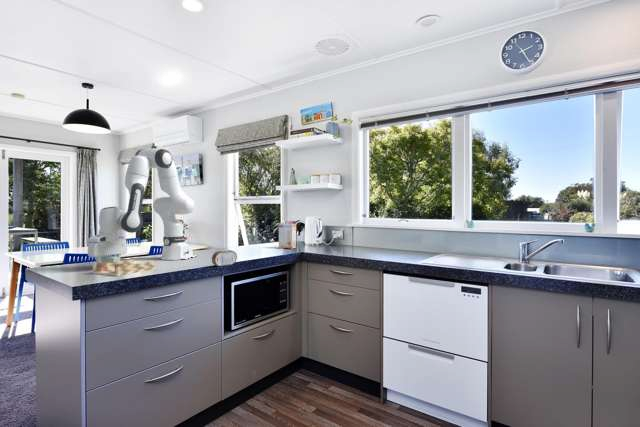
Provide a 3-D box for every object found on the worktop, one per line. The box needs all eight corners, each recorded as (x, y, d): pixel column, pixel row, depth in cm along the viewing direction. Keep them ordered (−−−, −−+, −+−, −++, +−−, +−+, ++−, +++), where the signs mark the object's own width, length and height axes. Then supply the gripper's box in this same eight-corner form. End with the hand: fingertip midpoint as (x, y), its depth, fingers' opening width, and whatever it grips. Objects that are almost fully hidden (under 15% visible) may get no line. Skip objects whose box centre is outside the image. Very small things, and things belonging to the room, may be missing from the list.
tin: (234, 263, 197) (234, 249, 197) (237, 264, 195) (237, 249, 195) (211, 266, 186) (211, 251, 186) (214, 267, 184) (214, 251, 184)
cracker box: (296, 249, 280) (296, 223, 280) (292, 249, 275) (292, 223, 275) (282, 247, 287) (283, 223, 287) (278, 248, 282) (278, 223, 282)
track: (131, 266, 183) (132, 257, 183) (155, 268, 178) (155, 259, 178) (92, 273, 162) (92, 263, 162) (117, 276, 157) (117, 265, 157)
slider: (103, 266, 183) (103, 255, 183) (120, 268, 179) (120, 256, 179) (96, 268, 179) (96, 256, 179) (113, 269, 175) (113, 257, 175)
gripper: (121, 236, 190) (121, 261, 190) (85, 238, 170) (85, 266, 170) (130, 236, 188) (129, 261, 188) (94, 239, 168) (94, 267, 168)
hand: (108, 263), depth 179 cm, fingers open, 8 cm apart
